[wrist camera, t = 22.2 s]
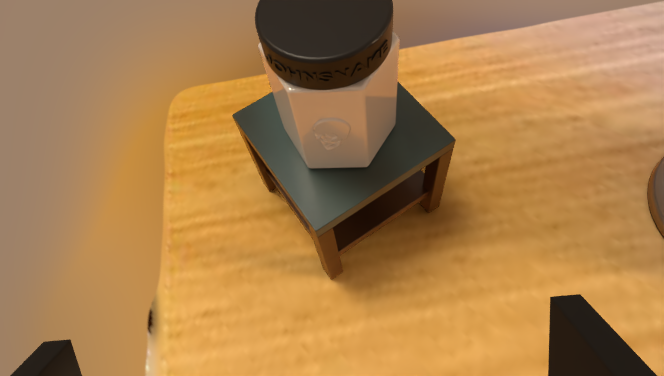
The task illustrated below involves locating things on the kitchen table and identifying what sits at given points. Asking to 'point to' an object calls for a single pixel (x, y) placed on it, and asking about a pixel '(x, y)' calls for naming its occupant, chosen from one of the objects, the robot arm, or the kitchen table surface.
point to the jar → (332, 75)
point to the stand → (351, 175)
